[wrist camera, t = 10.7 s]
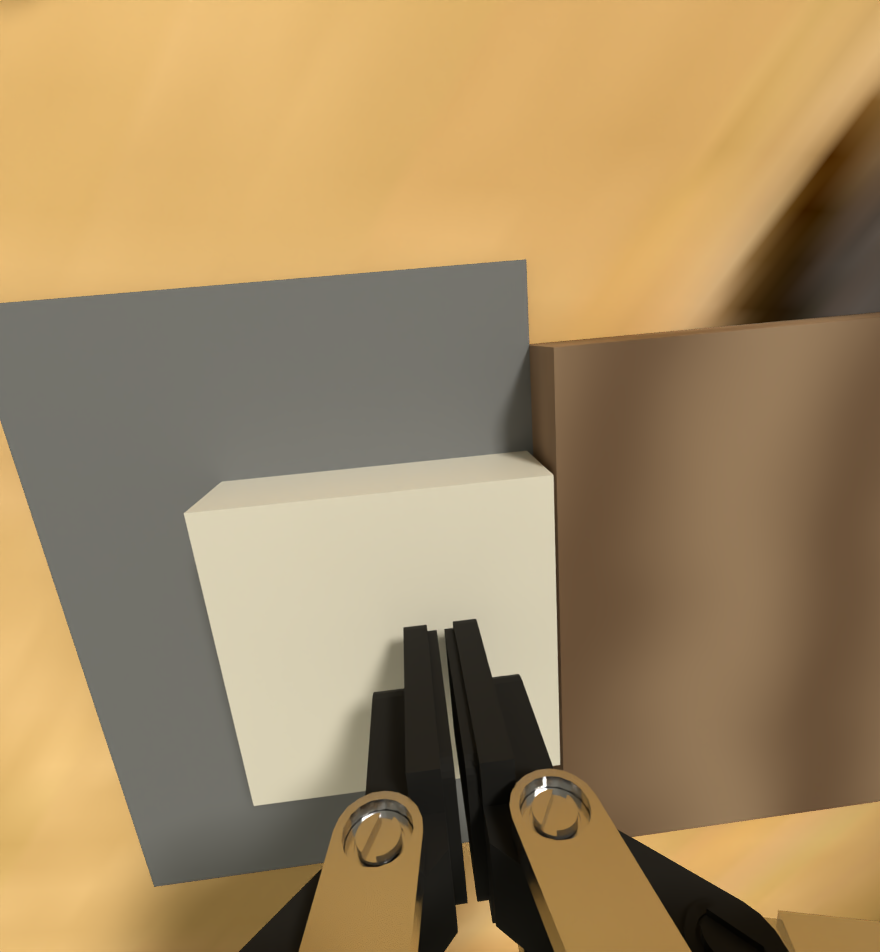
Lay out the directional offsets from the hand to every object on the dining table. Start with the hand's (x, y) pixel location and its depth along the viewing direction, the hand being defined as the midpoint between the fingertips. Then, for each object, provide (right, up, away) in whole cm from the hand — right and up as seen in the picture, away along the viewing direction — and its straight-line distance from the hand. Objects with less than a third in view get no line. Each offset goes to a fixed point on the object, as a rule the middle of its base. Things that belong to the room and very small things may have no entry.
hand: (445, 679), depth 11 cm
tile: (-1, +1, +3) cm, 3 cm away
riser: (+11, +2, +4) cm, 12 cm away
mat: (-4, +1, +3) cm, 5 cm away
